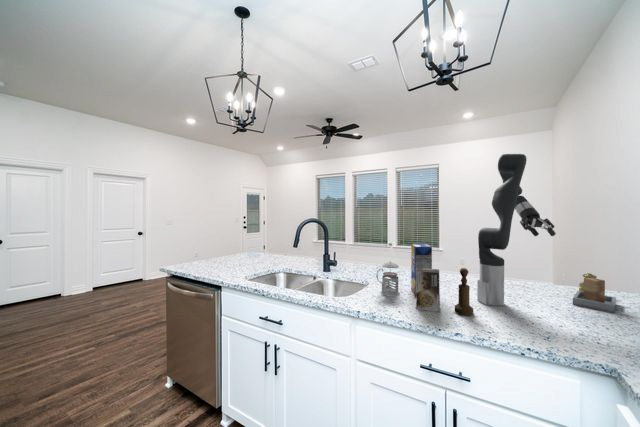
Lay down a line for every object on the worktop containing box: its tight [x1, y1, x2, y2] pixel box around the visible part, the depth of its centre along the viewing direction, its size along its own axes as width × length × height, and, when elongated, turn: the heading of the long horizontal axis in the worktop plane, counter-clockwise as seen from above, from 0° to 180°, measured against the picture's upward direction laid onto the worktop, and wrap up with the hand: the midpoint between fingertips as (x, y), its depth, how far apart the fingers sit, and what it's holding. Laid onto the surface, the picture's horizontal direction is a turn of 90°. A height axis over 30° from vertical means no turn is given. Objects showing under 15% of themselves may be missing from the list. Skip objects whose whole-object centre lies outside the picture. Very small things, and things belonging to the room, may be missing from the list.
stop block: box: [583, 277, 606, 303], centre depth 115 cm, size 4×4×10 cm
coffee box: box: [415, 268, 441, 312], centre depth 111 cm, size 9×6×16 cm
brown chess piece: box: [454, 267, 474, 317], centre depth 106 cm, size 7×6×18 cm
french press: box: [375, 242, 401, 297], centre depth 131 cm, size 10×12×25 cm
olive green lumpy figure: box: [578, 272, 598, 292], centre depth 129 cm, size 7×7×10 cm
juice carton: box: [410, 243, 433, 298], centre depth 130 cm, size 12×8×24 cm, turn 169°
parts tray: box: [572, 290, 617, 314], centre depth 115 cm, size 15×12×3 cm
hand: (545, 235), depth 131 cm, fingers open, 8 cm apart
